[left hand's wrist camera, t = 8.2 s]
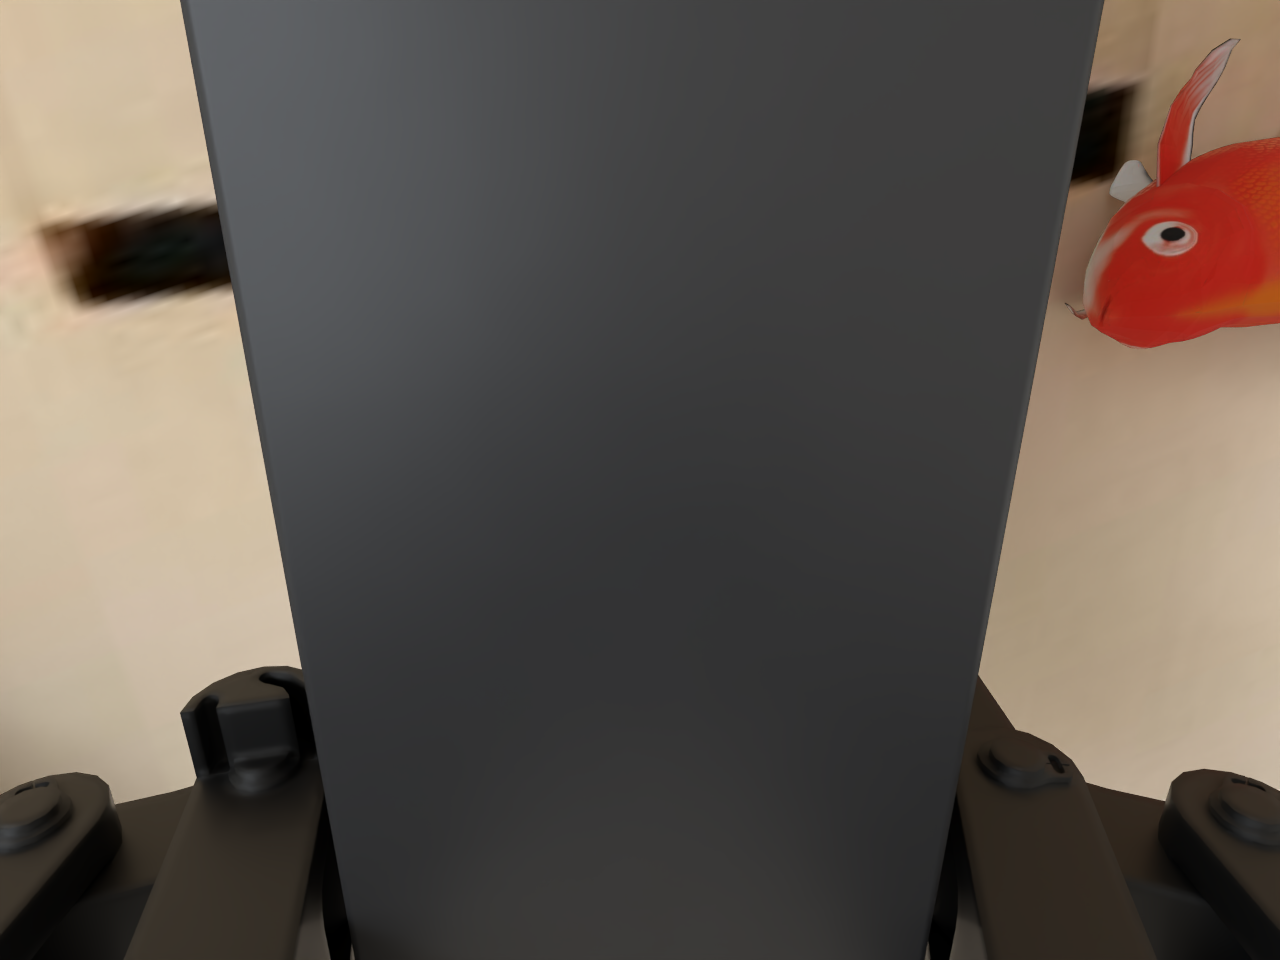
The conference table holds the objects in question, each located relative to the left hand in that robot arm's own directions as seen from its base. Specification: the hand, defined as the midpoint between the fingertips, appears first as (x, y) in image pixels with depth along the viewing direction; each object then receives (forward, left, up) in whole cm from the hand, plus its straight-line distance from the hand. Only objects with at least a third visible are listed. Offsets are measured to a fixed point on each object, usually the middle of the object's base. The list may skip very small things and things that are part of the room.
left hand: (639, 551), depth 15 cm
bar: (+11, +6, -1) cm, 13 cm away
